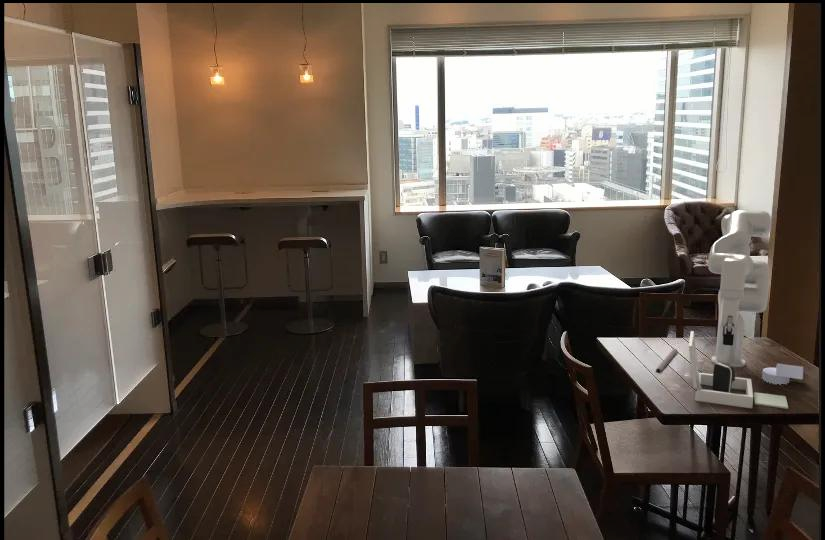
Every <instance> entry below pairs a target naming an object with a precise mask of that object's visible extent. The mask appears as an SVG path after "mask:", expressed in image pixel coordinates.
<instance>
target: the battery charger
mask: <svg viewBox="0 0 825 540" xmlns="http://www.w3.org/2000/svg"><path fill="white" fill-rule="evenodd" d="M712 372H713V373H712V374H713V386H712V388H711V390H712V391H720V392H727V393H732V388H731V386H732V381H735V377H736V368H734V367H732V366H730V365H727V364H724V363H717V364H714V366H713V371H712Z"/></svg>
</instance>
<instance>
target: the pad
mask: <svg viewBox="0 0 825 540" xmlns="http://www.w3.org/2000/svg"><path fill="white" fill-rule="evenodd" d="M786 397H787V396H785V395H777V394H771V393H763V392H755V391H753V401H754V405H757V406H765V407H773V408H779V409H789V406H788V401H787V398H786Z"/></svg>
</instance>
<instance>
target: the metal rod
mask: <svg viewBox="0 0 825 540" xmlns="http://www.w3.org/2000/svg"><path fill="white" fill-rule="evenodd" d="M677 353H678V349H677V348H673V349H672V350H671V351H670V352H669V354H668V355H667V356H666V357H665V358H664V360H663V361H662V362H661V363H660V364H659V365H658V366H657V368H656V369H655V372H656V373H661V372H662V371H663V370H664V369H665V368H666V366H667V365H668V364H669V363H670V362H671V361H672V360H673V358H674V357H675V356H676V354H677Z"/></svg>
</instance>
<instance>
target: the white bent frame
mask: <svg viewBox="0 0 825 540" xmlns="http://www.w3.org/2000/svg"><path fill="white" fill-rule="evenodd" d="M688 341H689V342H688V353H689V359H690V367H691V376H692V383H693V391H694V392H695V393H694V394H695V396H694V401H695V402H703V403H710V404H716V405H718V404H719V405H724V406H731V407H732V406H733V407H738V408H739V407H740V408H748V409H753V405H754V402H753V401H754V391H753V385H752V378H747V377H740V376H739V377H737V376H735V381H732V386H731V389H734V390H743V391H745V393H746V394H740V393H733V392H731V393H727V392H720V391H712V389H704V388H703V389H702V385H705V386H710V387H713V373H706V372H699V364H698V357H697V355H698V354H697V348H696V341H695V331H694V330H690V335H689V339H688Z"/></svg>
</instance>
